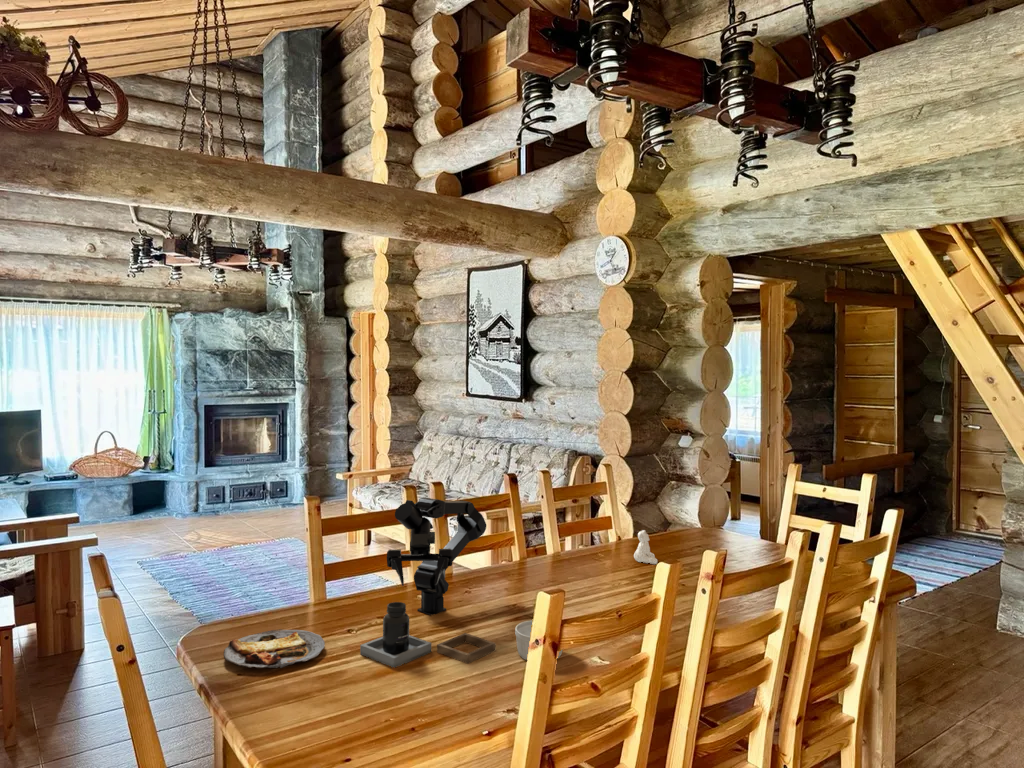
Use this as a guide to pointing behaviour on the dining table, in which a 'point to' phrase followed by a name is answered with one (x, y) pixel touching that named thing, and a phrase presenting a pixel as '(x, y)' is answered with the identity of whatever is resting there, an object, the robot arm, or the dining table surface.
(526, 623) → the ramekin
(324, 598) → the dining table surface
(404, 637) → the supplement bottle
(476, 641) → the walnut collar
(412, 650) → the grey tray
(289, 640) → the food plate
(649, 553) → the white creature statuette
